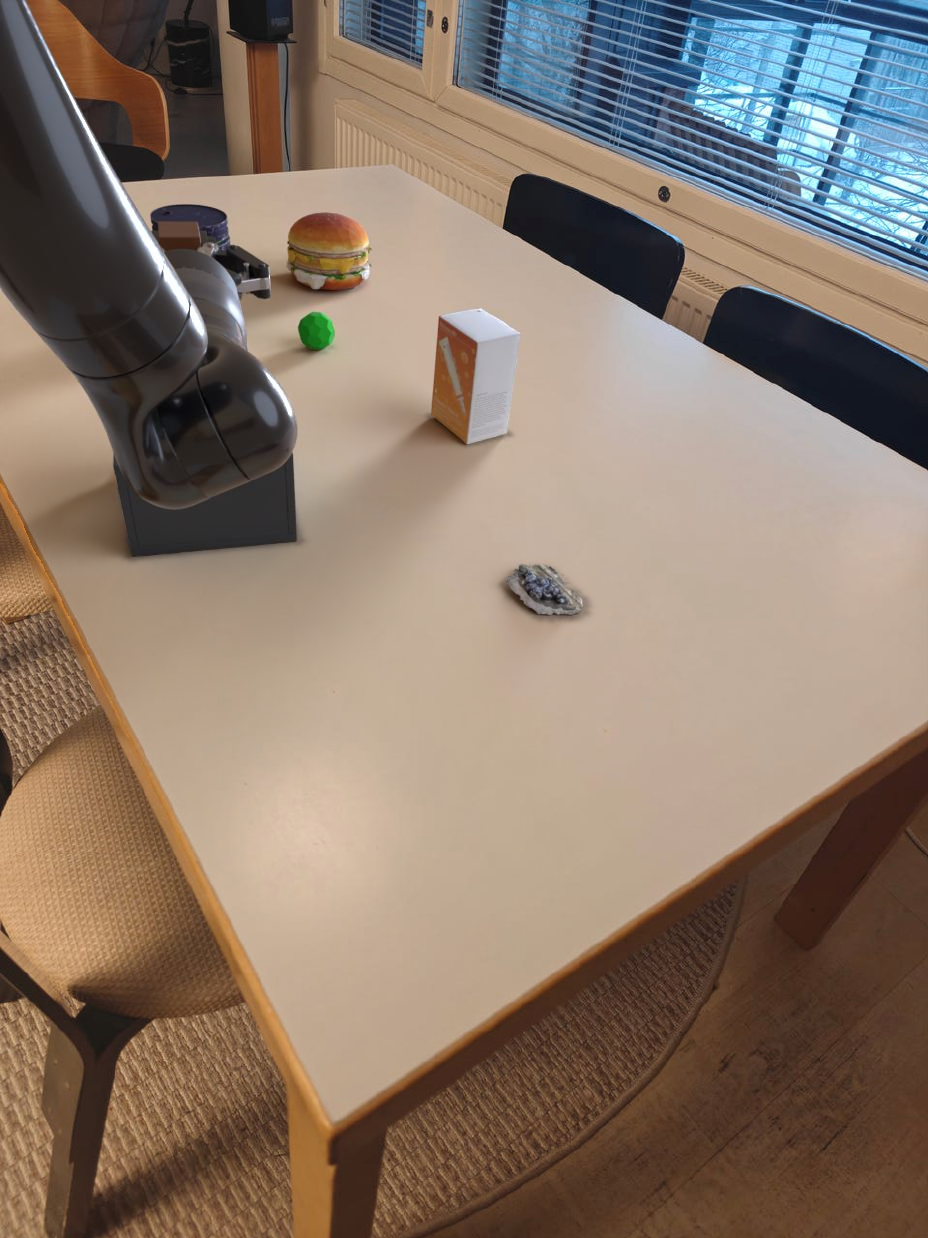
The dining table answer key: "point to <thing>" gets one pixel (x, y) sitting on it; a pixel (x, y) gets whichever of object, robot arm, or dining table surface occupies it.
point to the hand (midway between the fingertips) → (180, 242)
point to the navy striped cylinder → (195, 220)
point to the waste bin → (214, 517)
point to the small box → (474, 374)
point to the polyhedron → (316, 331)
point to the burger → (328, 251)
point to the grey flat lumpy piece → (544, 590)
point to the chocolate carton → (179, 235)
